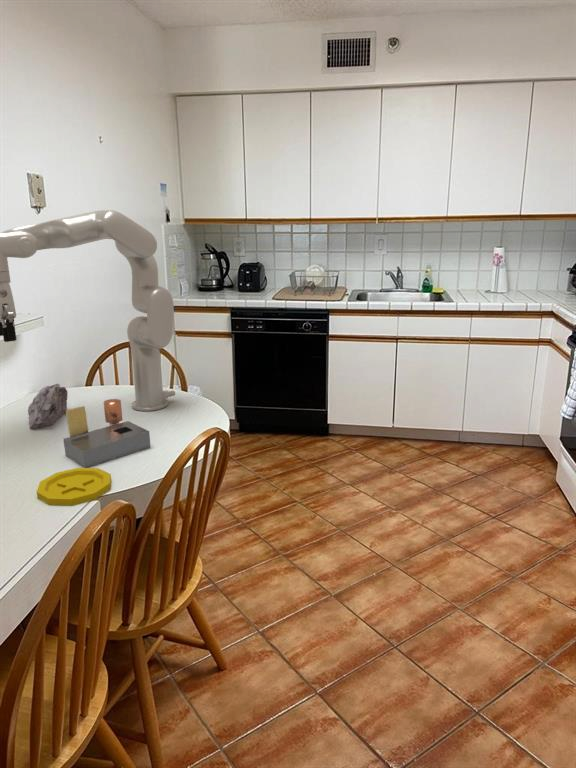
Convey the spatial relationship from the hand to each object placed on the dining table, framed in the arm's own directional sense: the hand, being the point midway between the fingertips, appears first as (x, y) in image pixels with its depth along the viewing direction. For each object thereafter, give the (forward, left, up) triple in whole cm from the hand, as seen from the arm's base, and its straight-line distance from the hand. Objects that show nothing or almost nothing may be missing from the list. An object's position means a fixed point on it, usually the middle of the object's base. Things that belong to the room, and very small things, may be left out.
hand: (4, 338), depth 162 cm
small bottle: (-23, +16, -31) cm, 42 cm away
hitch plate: (-15, +27, -31) cm, 44 cm away
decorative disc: (+2, +42, -32) cm, 53 cm away
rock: (-14, -12, -32) cm, 36 cm away
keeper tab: (-9, +23, -22) cm, 33 cm away
